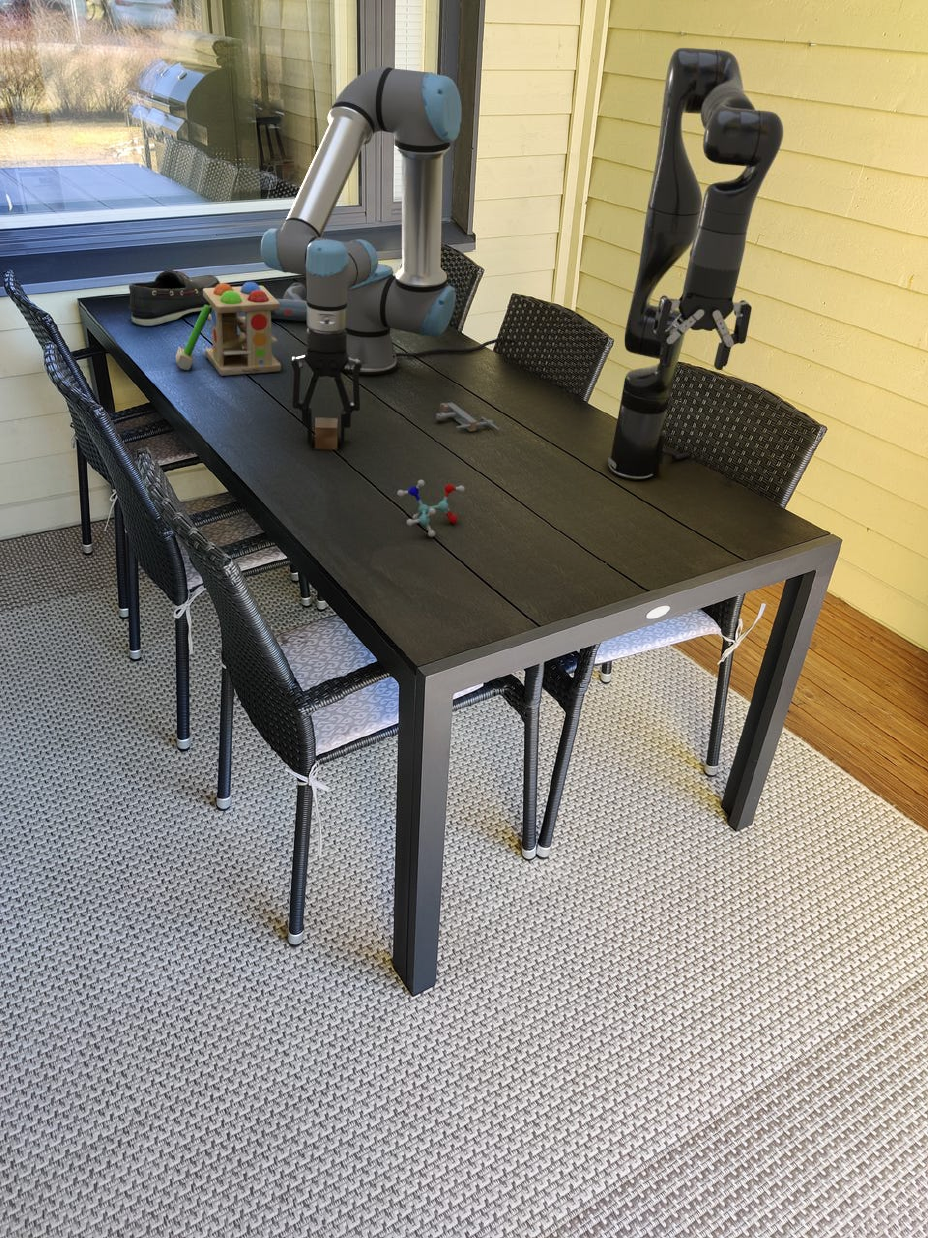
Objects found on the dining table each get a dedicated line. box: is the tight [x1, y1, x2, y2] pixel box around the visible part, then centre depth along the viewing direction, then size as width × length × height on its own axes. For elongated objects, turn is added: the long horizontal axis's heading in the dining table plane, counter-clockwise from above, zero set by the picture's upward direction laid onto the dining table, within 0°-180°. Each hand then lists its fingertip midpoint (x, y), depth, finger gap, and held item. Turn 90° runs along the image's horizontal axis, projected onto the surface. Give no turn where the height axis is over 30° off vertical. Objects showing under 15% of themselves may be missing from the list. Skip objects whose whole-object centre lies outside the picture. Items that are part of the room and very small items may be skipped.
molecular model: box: [397, 479, 466, 538], centre depth 173 cm, size 12×10×10 cm
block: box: [314, 416, 339, 451], centre depth 198 cm, size 4×5×5 cm
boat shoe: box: [128, 268, 221, 327], centre depth 258 cm, size 13×33×10 cm, turn 147°
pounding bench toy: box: [174, 281, 282, 377], centre depth 225 cm, size 23×14×18 cm, turn 116°
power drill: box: [271, 282, 307, 322], centre depth 265 cm, size 5×19×20 cm
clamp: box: [435, 402, 502, 433], centre depth 212 cm, size 15×2×10 cm
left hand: (326, 440), depth 199 cm, fingers open, 6 cm apart
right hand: (691, 366), depth 153 cm, fingers open, 8 cm apart
